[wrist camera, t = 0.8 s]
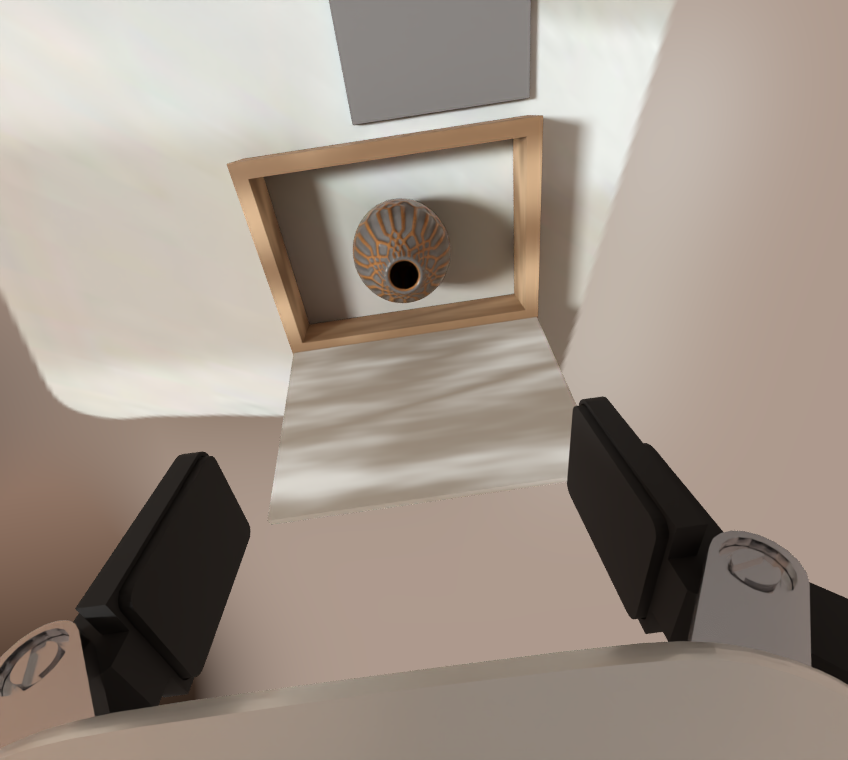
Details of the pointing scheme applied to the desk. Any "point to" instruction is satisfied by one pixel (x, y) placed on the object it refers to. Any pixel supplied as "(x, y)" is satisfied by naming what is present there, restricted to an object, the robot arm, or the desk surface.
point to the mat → (431, 54)
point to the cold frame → (414, 362)
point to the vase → (401, 250)
